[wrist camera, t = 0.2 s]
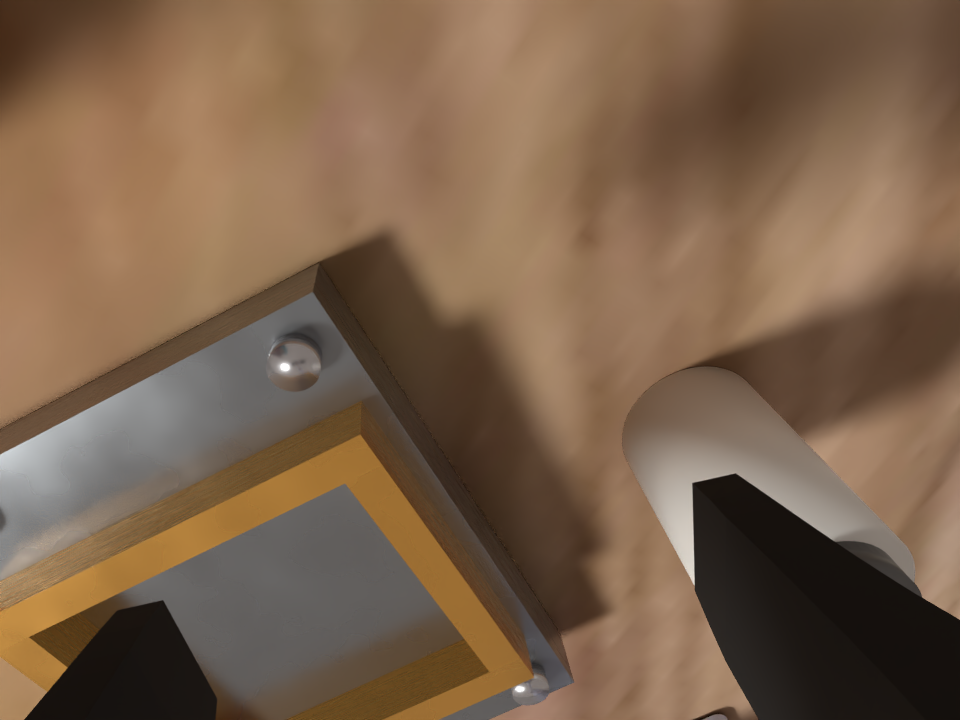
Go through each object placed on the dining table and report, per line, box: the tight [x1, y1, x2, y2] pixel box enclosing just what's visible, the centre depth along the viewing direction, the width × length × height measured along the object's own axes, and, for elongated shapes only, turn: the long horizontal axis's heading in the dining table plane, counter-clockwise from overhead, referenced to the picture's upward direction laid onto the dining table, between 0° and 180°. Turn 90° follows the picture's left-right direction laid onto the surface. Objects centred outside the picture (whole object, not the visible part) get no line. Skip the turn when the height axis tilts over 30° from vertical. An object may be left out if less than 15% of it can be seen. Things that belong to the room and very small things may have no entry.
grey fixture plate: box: [0, 263, 574, 720], centre depth 20 cm, size 16×12×4 cm
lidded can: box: [622, 366, 922, 597], centre depth 18 cm, size 4×4×8 cm
